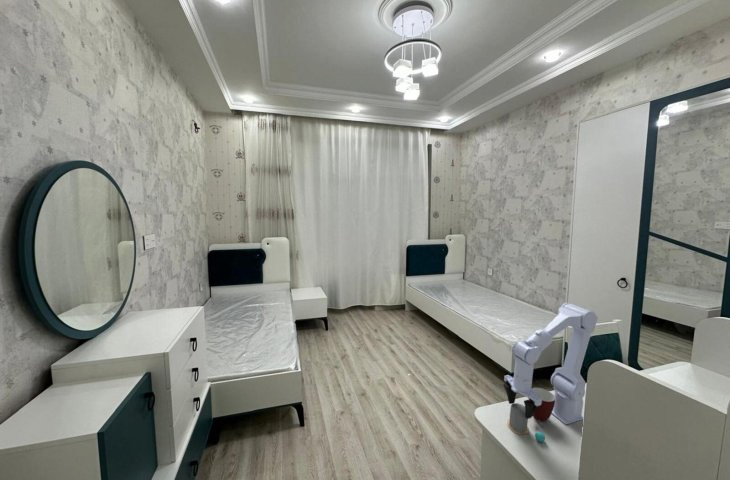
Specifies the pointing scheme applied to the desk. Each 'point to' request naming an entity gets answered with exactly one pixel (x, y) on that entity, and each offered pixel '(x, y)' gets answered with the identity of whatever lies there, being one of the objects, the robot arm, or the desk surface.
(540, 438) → the marble
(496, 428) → the desk surface
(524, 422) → the faceted grey cylinder
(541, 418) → the mug
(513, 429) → the tan round coaster
